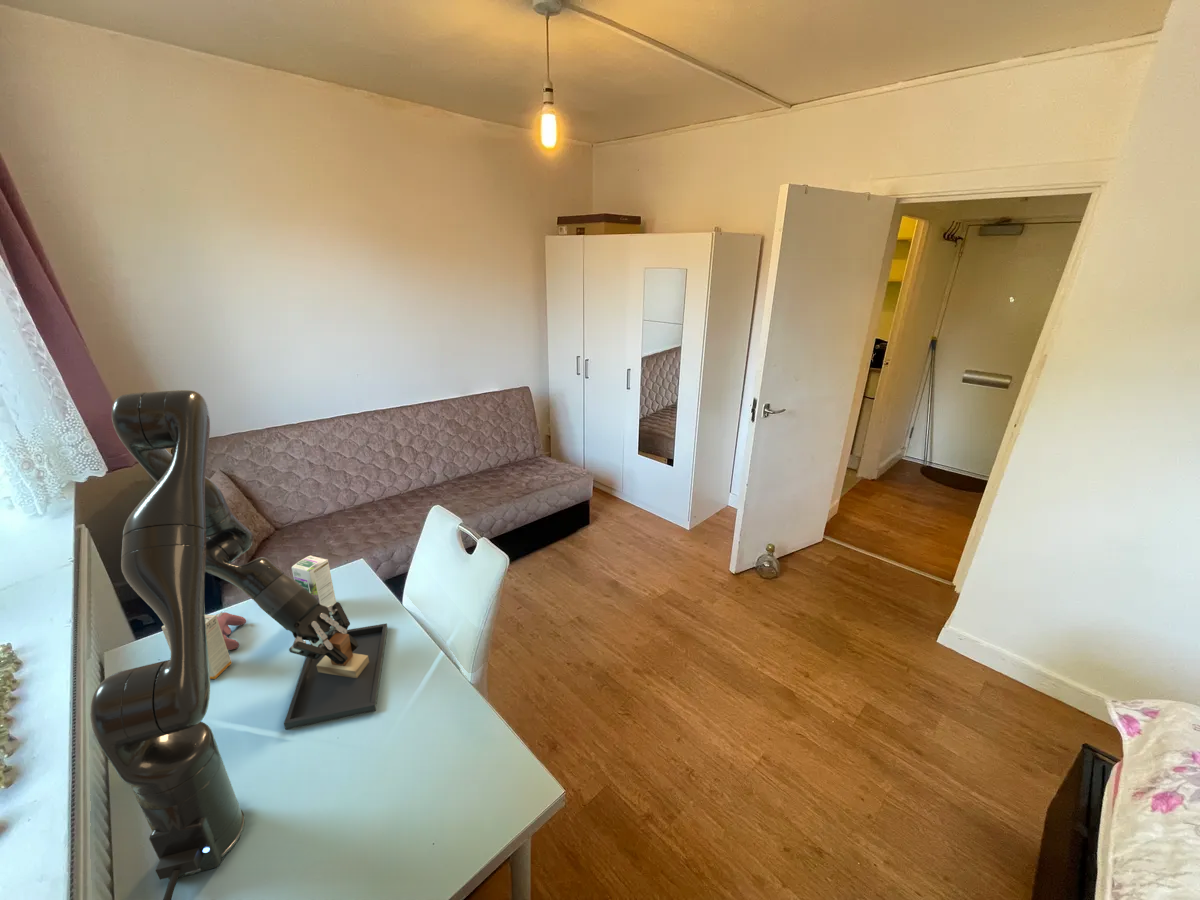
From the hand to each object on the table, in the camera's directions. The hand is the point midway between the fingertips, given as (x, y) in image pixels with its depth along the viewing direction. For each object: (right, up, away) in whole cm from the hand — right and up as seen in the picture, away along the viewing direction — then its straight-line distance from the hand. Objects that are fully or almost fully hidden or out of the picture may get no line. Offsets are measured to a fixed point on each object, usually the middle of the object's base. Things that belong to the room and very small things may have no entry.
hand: (350, 654), depth 103 cm
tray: (-2, -5, +1) cm, 5 cm away
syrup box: (-17, +3, +19) cm, 25 cm away
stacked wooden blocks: (-2, -3, +2) cm, 4 cm away
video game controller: (-33, 0, +9) cm, 34 cm away
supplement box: (-31, -4, +1) cm, 31 cm away
